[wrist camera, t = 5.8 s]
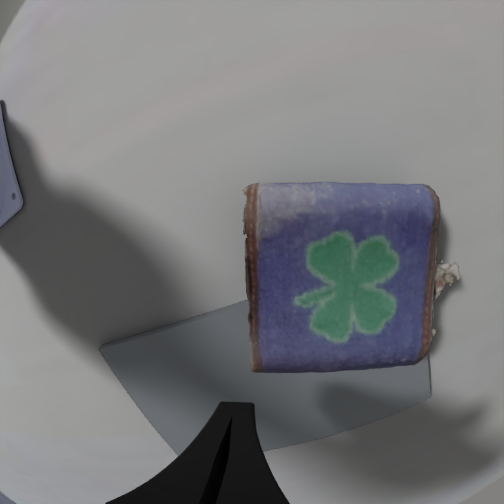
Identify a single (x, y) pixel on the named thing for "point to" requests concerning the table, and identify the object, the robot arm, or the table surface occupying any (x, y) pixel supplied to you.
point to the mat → (249, 384)
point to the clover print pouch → (341, 275)
